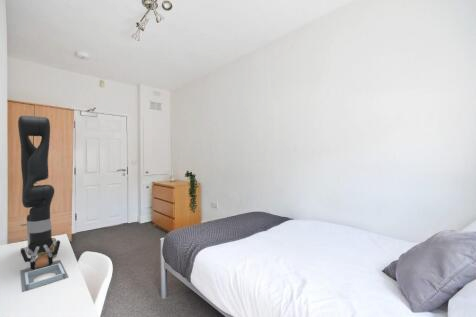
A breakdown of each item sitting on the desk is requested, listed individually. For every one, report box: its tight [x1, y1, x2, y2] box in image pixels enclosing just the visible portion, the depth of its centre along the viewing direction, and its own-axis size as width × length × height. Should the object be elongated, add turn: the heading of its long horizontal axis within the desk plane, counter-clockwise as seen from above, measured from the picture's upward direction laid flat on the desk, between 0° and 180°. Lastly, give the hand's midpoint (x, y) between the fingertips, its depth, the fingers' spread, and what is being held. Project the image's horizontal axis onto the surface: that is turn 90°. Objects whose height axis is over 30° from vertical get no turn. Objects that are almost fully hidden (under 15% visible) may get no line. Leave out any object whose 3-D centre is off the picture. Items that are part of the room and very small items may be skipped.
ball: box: [34, 256, 49, 268], centre depth 103 cm, size 5×5×5 cm
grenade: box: [36, 237, 58, 259], centre depth 114 cm, size 8×7×15 cm
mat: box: [19, 259, 69, 293], centre depth 98 cm, size 24×14×1 cm, turn 45°
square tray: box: [25, 263, 66, 292], centre depth 94 cm, size 14×12×2 cm
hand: (41, 267), depth 103 cm, fingers closed on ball, 5 cm apart
